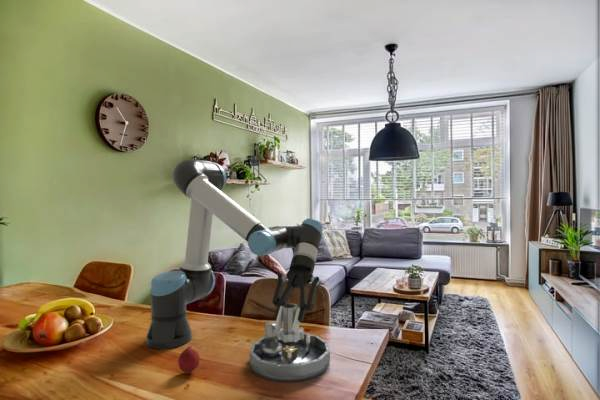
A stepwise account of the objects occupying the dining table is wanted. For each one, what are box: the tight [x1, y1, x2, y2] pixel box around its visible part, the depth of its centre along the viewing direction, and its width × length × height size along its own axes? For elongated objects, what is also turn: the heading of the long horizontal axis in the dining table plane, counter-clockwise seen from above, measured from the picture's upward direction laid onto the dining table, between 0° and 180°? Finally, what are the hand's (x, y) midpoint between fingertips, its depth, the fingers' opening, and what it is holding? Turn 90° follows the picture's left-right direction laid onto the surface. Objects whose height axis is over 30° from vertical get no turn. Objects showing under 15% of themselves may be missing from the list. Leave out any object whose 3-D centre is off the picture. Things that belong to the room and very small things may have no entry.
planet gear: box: [277, 303, 305, 342], centre depth 103 cm, size 8×8×9 cm
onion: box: [177, 344, 200, 374], centre depth 103 cm, size 6×6×8 cm
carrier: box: [249, 321, 331, 383], centre depth 109 cm, size 24×24×10 cm
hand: (285, 330), depth 99 cm, fingers closed on planet gear, 4 cm apart
